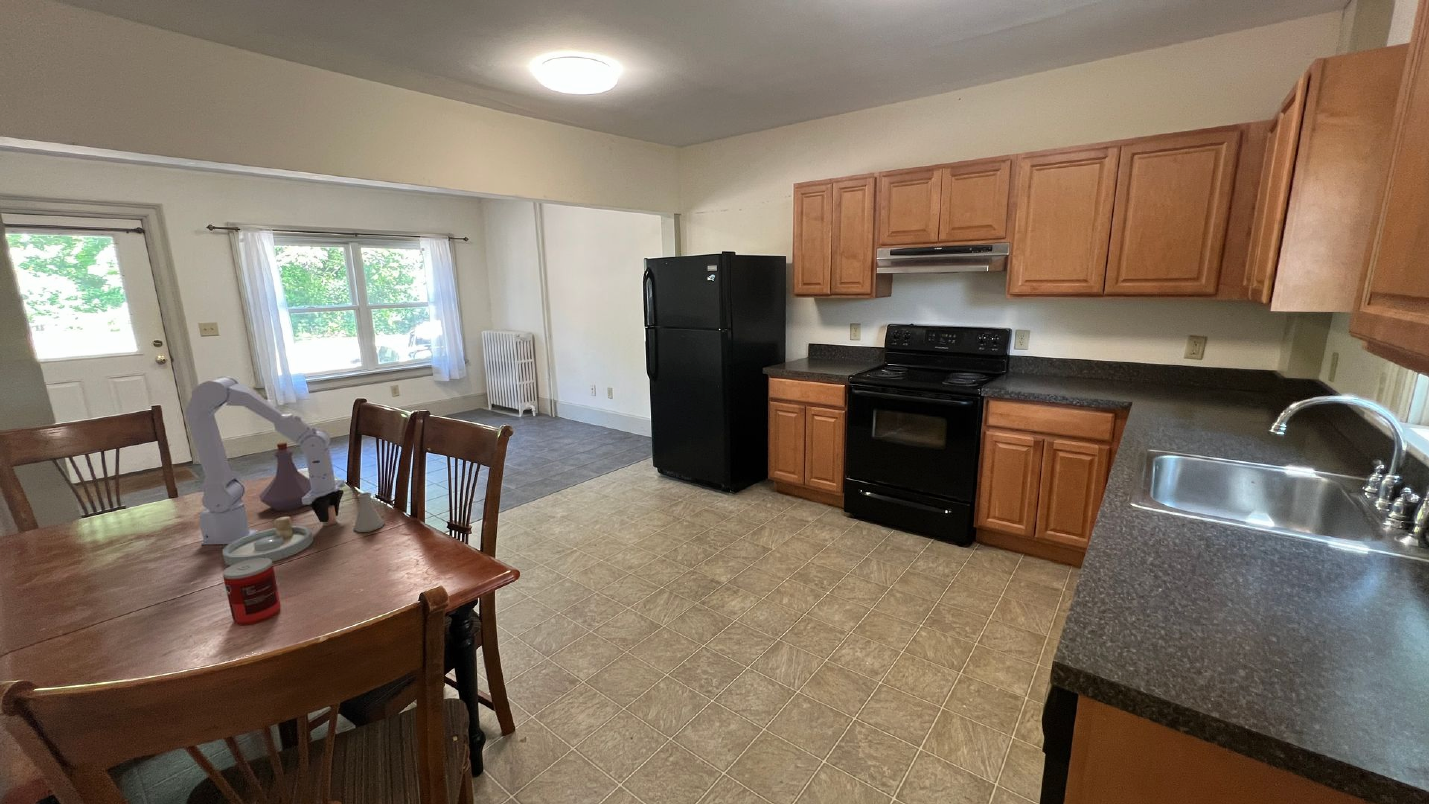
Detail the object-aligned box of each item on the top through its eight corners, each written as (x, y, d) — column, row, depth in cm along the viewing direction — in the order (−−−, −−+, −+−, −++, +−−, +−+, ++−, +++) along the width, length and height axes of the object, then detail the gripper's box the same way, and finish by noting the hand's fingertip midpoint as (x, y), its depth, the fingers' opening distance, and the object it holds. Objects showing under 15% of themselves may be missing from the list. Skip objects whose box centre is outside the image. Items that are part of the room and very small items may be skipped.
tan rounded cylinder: (284, 534, 152) (281, 516, 151) (296, 533, 152) (293, 516, 151) (274, 539, 148) (270, 521, 148) (286, 539, 148) (283, 521, 147)
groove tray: (204, 566, 136) (202, 557, 136) (264, 534, 154) (262, 526, 153) (276, 566, 136) (274, 556, 135) (328, 534, 154) (326, 525, 153)
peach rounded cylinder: (319, 526, 159) (316, 509, 158) (328, 521, 162) (325, 504, 161) (331, 525, 159) (328, 509, 158) (339, 520, 162) (336, 504, 161)
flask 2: (370, 534, 153) (365, 499, 151) (348, 532, 154) (342, 498, 152) (390, 523, 160) (385, 490, 158) (368, 521, 161) (363, 488, 159)
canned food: (250, 606, 118) (240, 558, 116) (290, 603, 119) (281, 556, 117) (222, 627, 111) (211, 577, 109) (265, 624, 112) (254, 574, 109)
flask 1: (336, 499, 180) (325, 439, 176) (279, 518, 165) (266, 453, 161) (305, 492, 186) (294, 435, 182) (248, 510, 172) (235, 448, 168)
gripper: (316, 482, 150) (324, 529, 153) (352, 465, 164) (359, 508, 167) (291, 482, 150) (299, 529, 153) (328, 465, 165) (335, 509, 167)
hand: (329, 518), depth 160 cm, fingers closed on peach rounded cylinder, 3 cm apart
